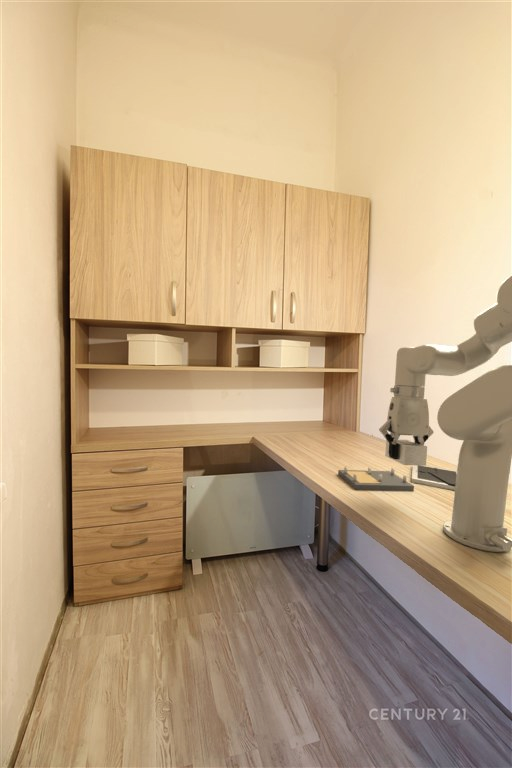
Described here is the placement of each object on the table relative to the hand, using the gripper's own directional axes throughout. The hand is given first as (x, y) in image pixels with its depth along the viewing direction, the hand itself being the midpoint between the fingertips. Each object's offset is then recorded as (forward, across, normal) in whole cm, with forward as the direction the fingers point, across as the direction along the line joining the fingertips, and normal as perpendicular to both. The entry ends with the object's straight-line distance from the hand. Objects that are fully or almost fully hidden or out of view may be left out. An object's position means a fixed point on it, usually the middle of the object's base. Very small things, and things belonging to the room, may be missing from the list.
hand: (404, 457), depth 96 cm
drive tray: (+12, 0, +15) cm, 19 cm away
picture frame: (+13, +25, +20) cm, 35 cm away
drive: (+1, 0, 0) cm, 1 cm away
